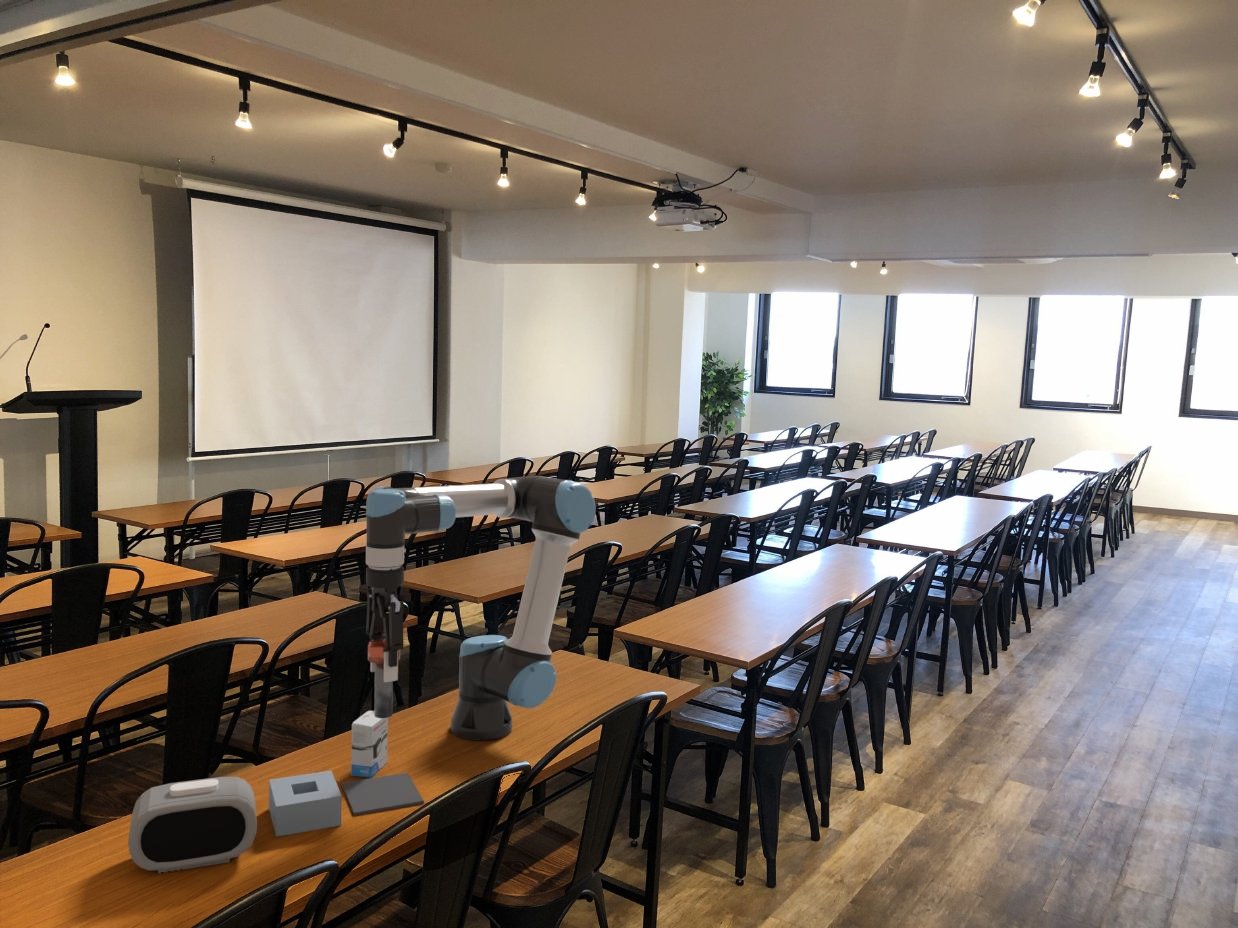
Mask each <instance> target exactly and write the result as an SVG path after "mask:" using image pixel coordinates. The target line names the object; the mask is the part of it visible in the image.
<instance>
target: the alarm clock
mask: <svg viewBox="0 0 1238 928" xmlns="http://www.w3.org/2000/svg"><path fill="white" fill-rule="evenodd" d="M257 819H258V818H257V808H256V798H255V792H254V789H253V787H252V785H251V784H250V783H249V782H248V781H247V780H245V779H244V778H241V777H239V776H218V777H217V776H216V777H208V778H202V779H194V780H186V781H177V782H169V783H165V784H161V785H157V786H153V787H152V786H151V787H150V788H149V789H147V790H146V791H144V792H143V793H141V795H140V796H139V797H138V799H137V800H136V801H135V804H134V807H133V810H132V814H131V819H130V820H131V821H130V825H129V833H128V839H127V840H128V842H127V846H128V852H129V855H130V857H131V860H132V861H133V862H134V863H135V865H137V866H138V868H141V869H144V870H146V871H150V872H151V871H153V872H154V871H157V873H158V874H162V873H161V872H164V873H167V872H166V871H171V872H175V871H174V870H177V871H181V870H180V869H183V870H188V869H194V868H201V867H206V866H207V867H208V866H212V865H213V866H214V865H218V864H225V863H230V861H231V859H234V858H238V857H239V856H241V855H243V854H244V853H245V852H246V851H248V849H249V848H250V846H252V844H253V842H254V840H255V837H256V834H257V828H258V821H257ZM193 867H194V868H193Z"/></svg>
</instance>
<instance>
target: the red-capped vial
mask: <svg viewBox="0 0 1238 928" xmlns="http://www.w3.org/2000/svg"><path fill="white" fill-rule="evenodd" d="M380 639H381V640H374V641H372V640H369V642H368V644H367V661H368V662H369V663H371V662H372V663H375V672H374V704H373V705H374V710H373V711H374V716H375V717H377V718H388V719H389V718H390V717H392V716H393V702H394V701H393V700H394V699H393V693H394V690H393V689H394V686H393V685H394V683H393V682H394V681H391V682H384V652H383V649H386V643H385V638H380ZM400 659H401V649H400V650H398V661H400Z"/></svg>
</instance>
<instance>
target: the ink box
mask: <svg viewBox="0 0 1238 928" xmlns="http://www.w3.org/2000/svg"><path fill="white" fill-rule="evenodd" d="M388 725H389V717H388V718H377V717H375V716H374V710H368V711H366V712H365V713H363V714H362V715H360V716H359V717H358V718H357V719H355V720H354V721H353V722H352V724H351V765H350V767H351V771H350V773H351V774H350V775H351V776H353V777H360V778H361V777H363V778H367V779H369V778H373V777H374V775H376V773H378V772H379V770H381V768H383V767H384V766H385V765H386V764H387V762H388V732H389V731H388V730H389V729H388V727H389V726H388Z"/></svg>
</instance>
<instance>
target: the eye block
mask: <svg viewBox="0 0 1238 928" xmlns="http://www.w3.org/2000/svg"><path fill="white" fill-rule="evenodd" d="M333 773H334V772H333V771H332V770H326V771H318V772H312V773H305V774H298V775H292V776H284V777H279V778H278V777H277V778H272V779H269V781H268V782H269V783H268V785H269V786H268V789H269V790H268V794H269V795H268V800H269V801H268V808H269V812H270V813H269V814H270V817H271V822H272V827H273V829H274V835H275V837H276V838H278V837H283V836H288V835H294V834H300V833H305V832H311V831H316V830H323V829H328V828H334V827H338V826H339V827H340V826H342V808H343V807H342V805H343V804H342V803H343V802H342V801H343V800H342V793H341V791H340V789H339V788H340V787H339V786H338V783H337V781H336V779H335V775H334V774H333Z"/></svg>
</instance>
